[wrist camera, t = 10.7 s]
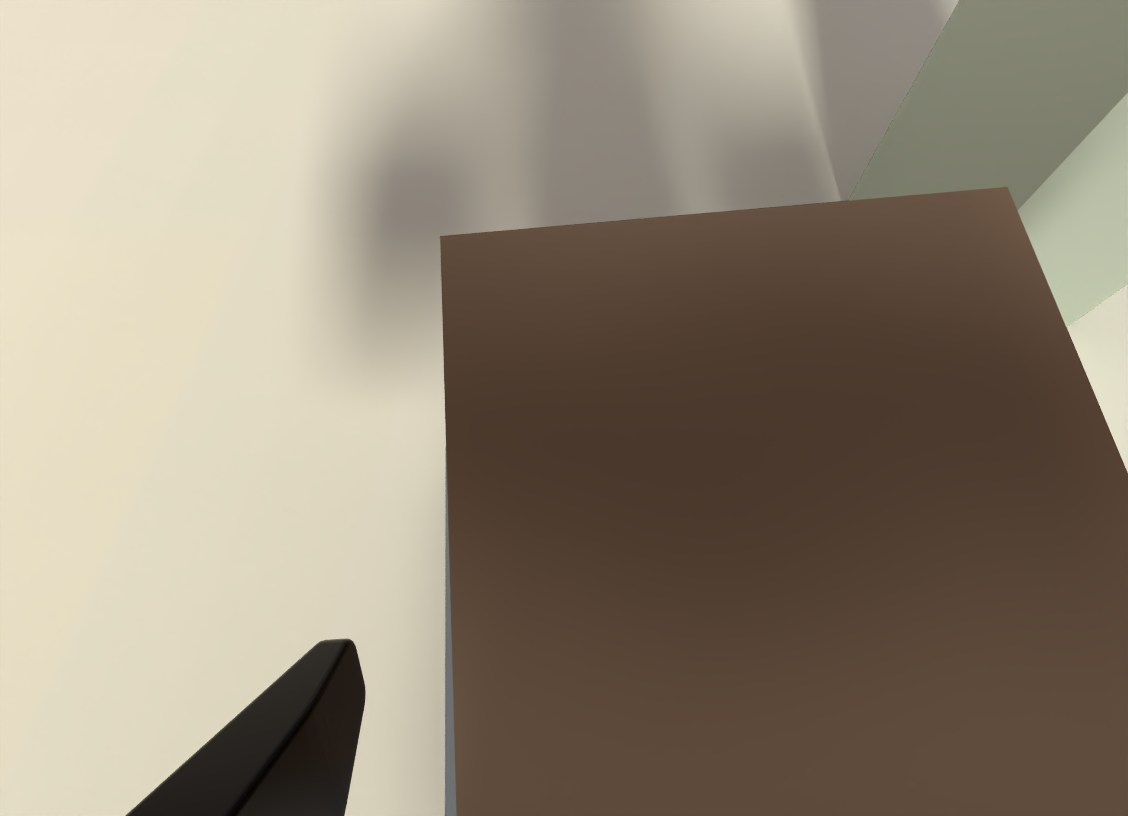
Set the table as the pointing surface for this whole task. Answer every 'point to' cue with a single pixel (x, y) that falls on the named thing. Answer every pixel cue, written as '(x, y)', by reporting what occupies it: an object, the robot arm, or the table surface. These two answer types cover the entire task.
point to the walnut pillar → (780, 520)
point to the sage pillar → (1026, 132)
